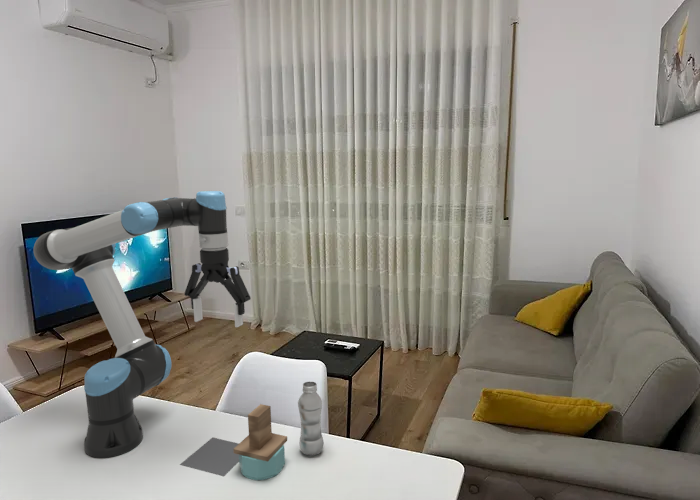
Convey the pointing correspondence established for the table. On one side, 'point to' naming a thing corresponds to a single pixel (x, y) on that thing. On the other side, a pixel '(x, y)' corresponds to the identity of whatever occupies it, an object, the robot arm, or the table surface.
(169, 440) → the table surface
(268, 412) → the cover lid
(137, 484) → the table surface
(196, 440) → the table surface
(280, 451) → the bowl
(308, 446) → the plastic bottle
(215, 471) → the mat
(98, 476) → the table surface
